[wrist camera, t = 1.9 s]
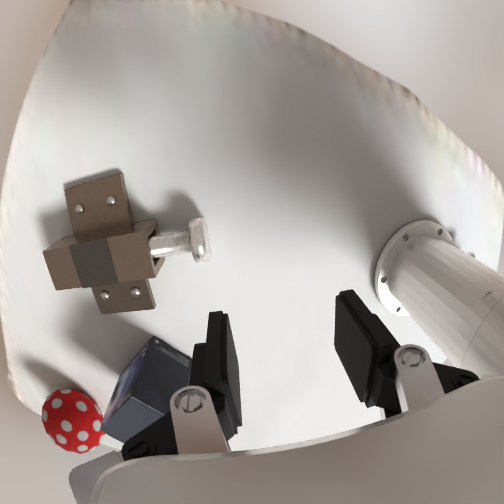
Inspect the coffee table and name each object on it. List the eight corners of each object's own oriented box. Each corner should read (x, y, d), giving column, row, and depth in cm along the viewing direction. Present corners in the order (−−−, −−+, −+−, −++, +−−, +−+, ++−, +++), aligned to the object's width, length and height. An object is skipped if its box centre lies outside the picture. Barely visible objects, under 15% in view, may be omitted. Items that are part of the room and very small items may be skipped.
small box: (151, 332, 32) (129, 395, 22) (195, 359, 33) (187, 425, 24) (117, 374, 34) (96, 430, 24) (155, 396, 36) (143, 454, 26)
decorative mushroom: (59, 457, 31) (68, 466, 23) (30, 405, 33) (29, 397, 25) (103, 437, 40) (125, 437, 32) (75, 388, 42) (88, 375, 35)
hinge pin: (204, 213, 27) (200, 223, 23) (211, 251, 28) (208, 267, 25) (85, 235, 27) (67, 247, 23) (95, 269, 28) (80, 285, 24)
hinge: (145, 167, 25) (130, 171, 21) (176, 303, 30) (169, 325, 26) (51, 194, 25) (28, 202, 21) (87, 311, 30) (73, 331, 26)
